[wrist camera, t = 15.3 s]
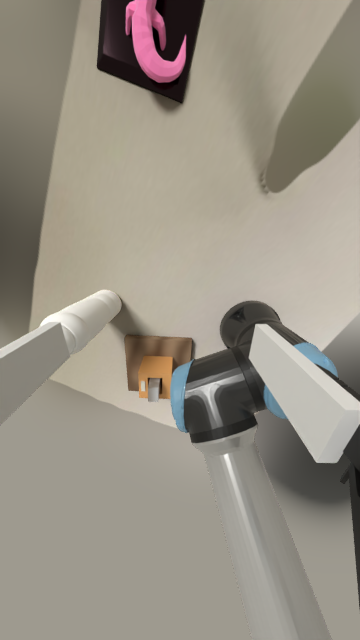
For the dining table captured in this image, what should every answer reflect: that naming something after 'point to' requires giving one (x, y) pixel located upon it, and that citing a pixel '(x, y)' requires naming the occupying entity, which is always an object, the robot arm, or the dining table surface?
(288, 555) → the robot arm
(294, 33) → the dining table surface
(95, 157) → the dining table surface
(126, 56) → the lizard figurine
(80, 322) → the water bottle
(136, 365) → the board
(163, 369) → the orange slotted box
